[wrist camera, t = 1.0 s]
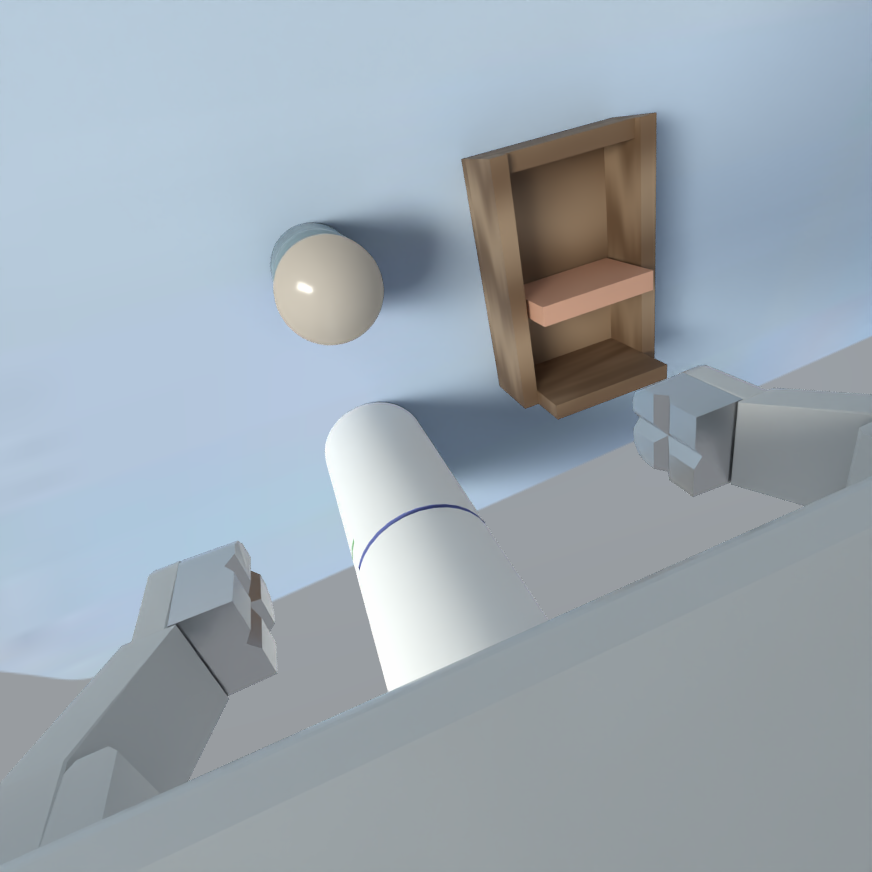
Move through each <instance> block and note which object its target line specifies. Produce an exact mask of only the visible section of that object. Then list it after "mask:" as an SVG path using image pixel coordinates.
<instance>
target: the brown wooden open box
mask: <svg viewBox="0 0 872 872" xmlns="http://www.w3.org/2000/svg"><path fill="white" fill-rule="evenodd" d="M461 160H462V166H463V172H464V178H465V184H466V190H467V195H468V201H469V207H470V213H471V219H472V225H473V231H474V237H475V243H476V249H477V255H478V261H479V266H480V272H481V278H482V284H483V290H484V296H485V302H486V308H487V314H488V320H489V326H490V332H491V337H492V343H493V349H494V355H495V361H496V367H497V373H498V379H499V385H500V387H501V388H502V389H504V390H505V391H506V392H507V393H508V394H509V395H510V396H511V397H513V398H514V399H515V400H516V401H517V402H518V403H519V404H520V405H522V406H523V407H524V408H525V409H526V408H529V407H531V406H534V405H537V404H540V405H541V406H542V407H543V408H544V409H546V410H547V411H548V412H549V413H551V414H552V415H553V416H554V417H555V418H557V419H560V418H563V417H566V416H568V415H571V414H574V413H576V412H579V411H582V410H584V409H587V408H590V407H592V406H595V405H598V404H600V403H603V402H606V401H608V400H611V399H614V398H616V397H619V396H621V395H624V394H627V393H629V392H632V391H635V390H637V389H640V388H643V387H645V386H648V385H651V384H653V383H656V382H659V381H661V380H664V379H667V364H665V363H663V362H660V361H658V360H656V359H654V343H655V227H656V113H648V114H640V115H631V116H623V117H614V118H609V119H606V120H602V121H598V122H595V123H591V124H587V125H584V126H580V127H576V128H573V129H569V130H566V131H562V132H558V133H555V134H551V135H547V136H544V137H540V138H537V139H533V140H529V141H526V142H522V143H518V144H515V145H511V146H508V147H504V148H500V149H497V150H493V151H489V152H486V153H482V154H478V155H475V156H471V157H468V158H464V159H461ZM604 258H609V259H613V260H617V261H620V262H624V263H628V264H631V265H635V266H639V267H643V268H646V269H650V270H653V290H652V291H649V292H646V293H643V294H640V295H637V296H634V297H631V298H628V299H625V300H622V301H619V302H616V303H614V304H611V305H608V306H605V307H602V308H599V309H596V310H593V311H590V312H587V313H584V314H581V315H579V316H576V317H573V318H570V319H567V320H564V321H561V322H558V323H555V324H552V325H549V326H546V327H544V326H542V325H540V324H538V323H536V322H535V321H533V320H531V319H529V318H528V315H527V307H526V299H525V292H524V284H527V283H530V282H533V281H536V280H539V279H542V278H545V277H548V276H551V275H554V274H558V273H561V272H564V271H567V270H570V269H573V268H576V267H579V266H582V265H585V264H588V263H591V262H594V261H597V260H601V259H604Z"/></svg>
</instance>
